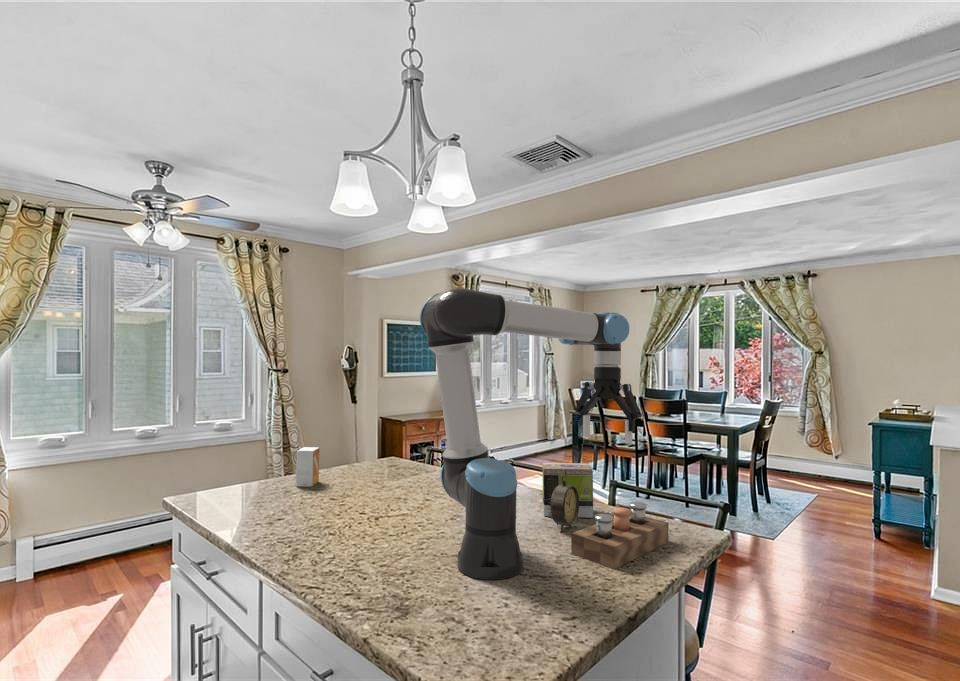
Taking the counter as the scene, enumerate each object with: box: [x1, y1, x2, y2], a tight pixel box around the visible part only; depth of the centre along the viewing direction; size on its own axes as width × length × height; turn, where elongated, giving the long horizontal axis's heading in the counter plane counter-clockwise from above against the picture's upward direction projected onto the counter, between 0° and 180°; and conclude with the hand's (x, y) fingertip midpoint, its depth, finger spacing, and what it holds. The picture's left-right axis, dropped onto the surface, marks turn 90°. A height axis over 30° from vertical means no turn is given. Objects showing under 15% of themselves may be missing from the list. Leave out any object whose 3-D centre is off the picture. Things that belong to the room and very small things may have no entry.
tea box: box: [542, 462, 594, 519], centre depth 158 cm, size 15×10×15 cm
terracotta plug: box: [612, 507, 631, 532], centre depth 130 cm, size 4×4×5 cm
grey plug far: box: [628, 501, 648, 525], centre depth 135 cm, size 4×4×5 cm
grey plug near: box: [594, 513, 614, 540], centre depth 124 cm, size 4×4×5 cm
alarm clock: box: [550, 470, 579, 534], centre depth 144 cm, size 11×5×16 cm, turn 147°
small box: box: [295, 446, 321, 488], centre depth 189 cm, size 8×6×13 cm
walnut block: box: [570, 515, 669, 570], centre depth 130 cm, size 26×12×5 cm, turn 133°
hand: (606, 440), depth 147 cm, fingers open, 13 cm apart
